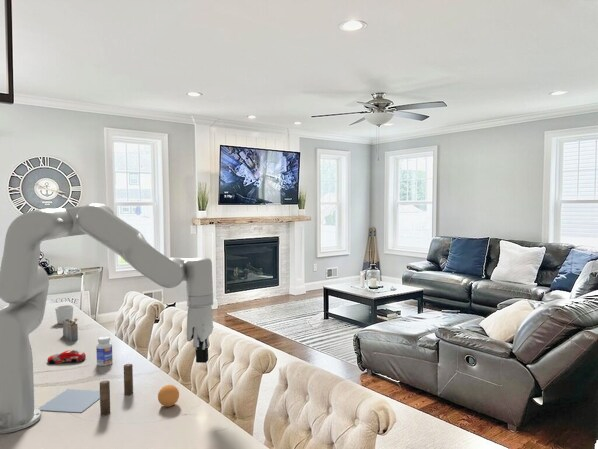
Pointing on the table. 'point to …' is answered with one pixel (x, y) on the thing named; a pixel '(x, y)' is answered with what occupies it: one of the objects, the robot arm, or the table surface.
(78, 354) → the race car
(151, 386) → the table surface
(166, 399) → the ball
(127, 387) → the gate post right
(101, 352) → the pill bottle
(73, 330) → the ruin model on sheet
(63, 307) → the cup
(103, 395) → the gate post left
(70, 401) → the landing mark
